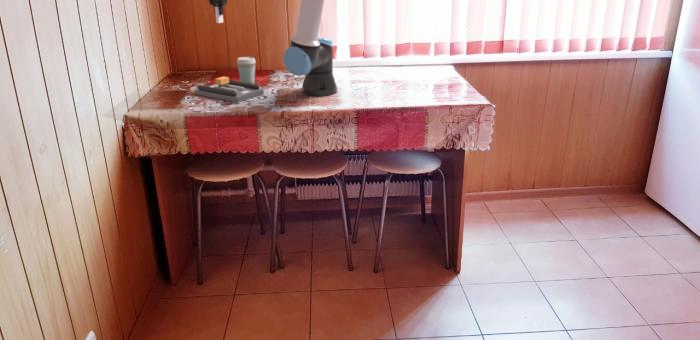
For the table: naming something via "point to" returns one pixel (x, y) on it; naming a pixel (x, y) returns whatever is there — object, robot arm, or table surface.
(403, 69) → the table surface
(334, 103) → the table surface
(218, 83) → the lever
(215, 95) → the slide switch panel
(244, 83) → the pair of grey bars
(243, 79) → the coffee cup
